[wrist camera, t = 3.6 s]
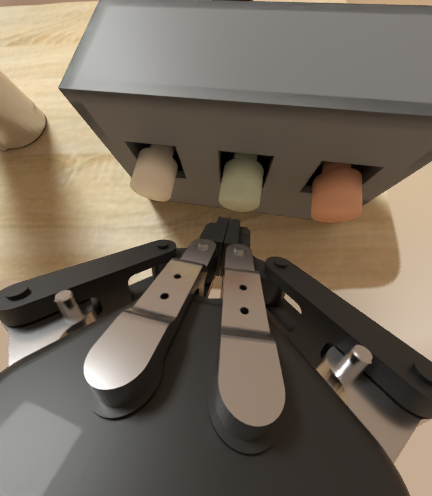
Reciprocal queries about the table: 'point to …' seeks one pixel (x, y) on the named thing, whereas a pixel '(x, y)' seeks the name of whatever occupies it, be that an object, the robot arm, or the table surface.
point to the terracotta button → (337, 193)
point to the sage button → (241, 183)
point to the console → (259, 91)
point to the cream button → (155, 172)
